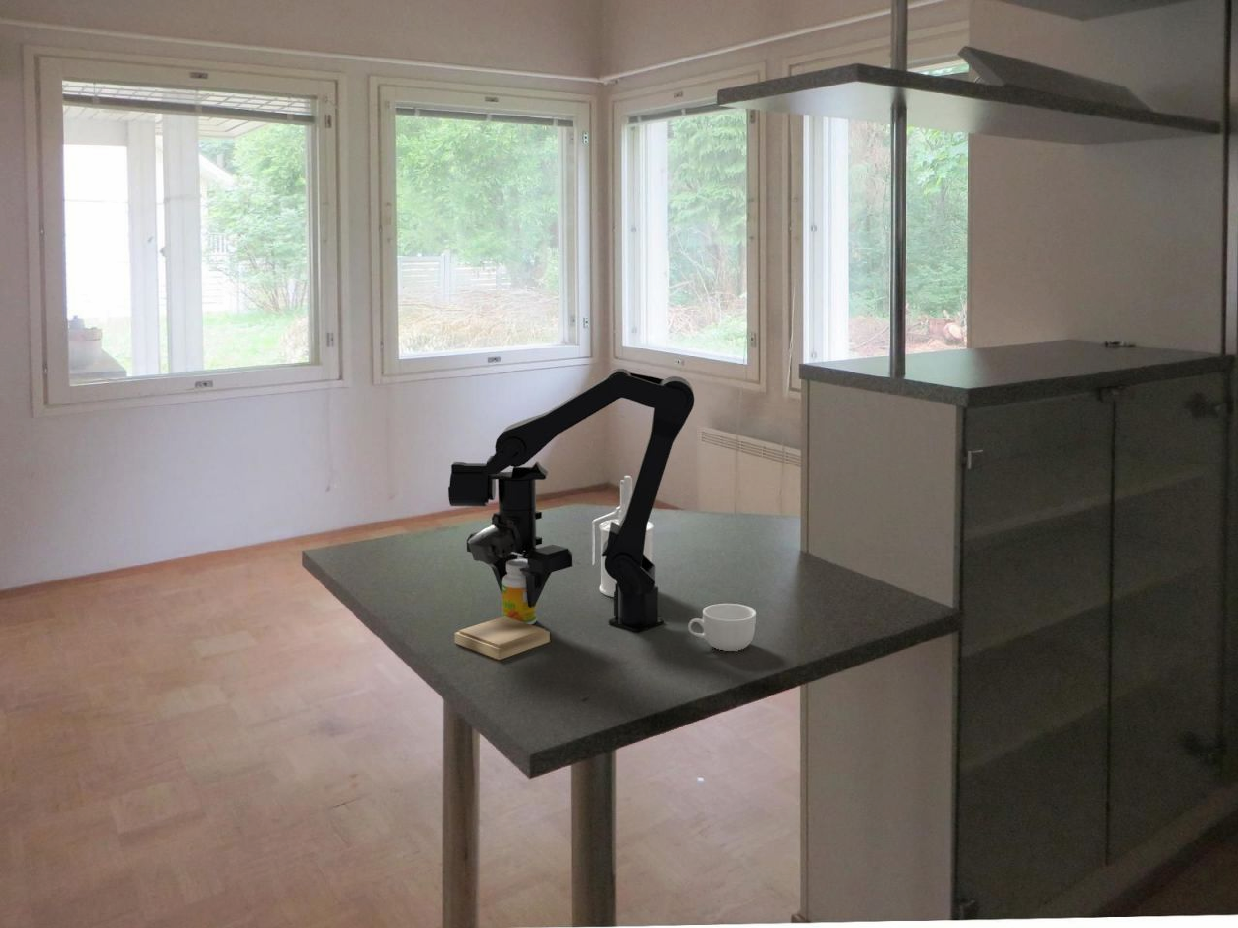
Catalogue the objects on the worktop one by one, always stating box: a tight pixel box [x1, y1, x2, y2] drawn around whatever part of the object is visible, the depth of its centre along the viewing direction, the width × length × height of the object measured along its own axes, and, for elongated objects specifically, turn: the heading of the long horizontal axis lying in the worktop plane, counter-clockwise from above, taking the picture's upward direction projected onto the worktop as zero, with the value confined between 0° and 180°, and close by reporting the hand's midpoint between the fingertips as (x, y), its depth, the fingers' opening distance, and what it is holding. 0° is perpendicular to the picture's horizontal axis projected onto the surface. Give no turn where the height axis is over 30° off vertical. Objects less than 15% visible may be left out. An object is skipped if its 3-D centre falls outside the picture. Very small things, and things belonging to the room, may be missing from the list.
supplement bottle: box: [501, 558, 538, 625], centre depth 174 cm, size 5×5×10 cm
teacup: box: [687, 603, 757, 652], centre depth 164 cm, size 10×8×5 cm
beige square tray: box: [454, 615, 551, 661], centre depth 166 cm, size 10×10×2 cm
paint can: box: [591, 475, 655, 598], centre depth 189 cm, size 10×9×20 cm
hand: (519, 603), depth 175 cm, fingers closed on supplement bottle, 5 cm apart
